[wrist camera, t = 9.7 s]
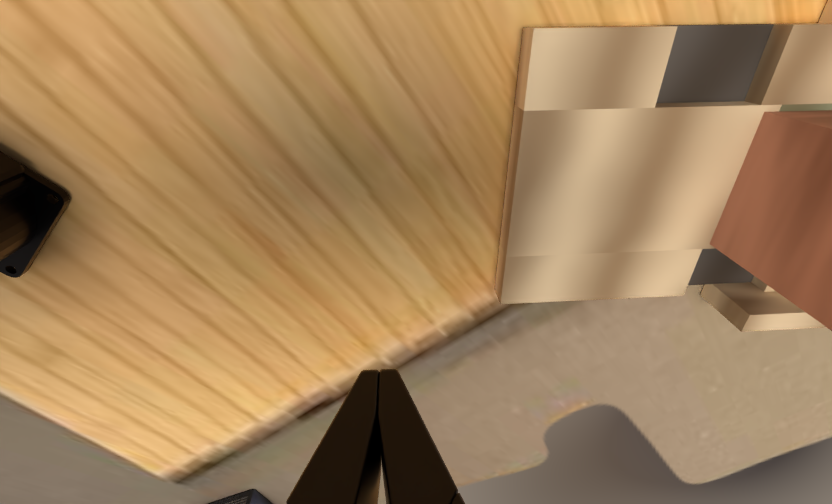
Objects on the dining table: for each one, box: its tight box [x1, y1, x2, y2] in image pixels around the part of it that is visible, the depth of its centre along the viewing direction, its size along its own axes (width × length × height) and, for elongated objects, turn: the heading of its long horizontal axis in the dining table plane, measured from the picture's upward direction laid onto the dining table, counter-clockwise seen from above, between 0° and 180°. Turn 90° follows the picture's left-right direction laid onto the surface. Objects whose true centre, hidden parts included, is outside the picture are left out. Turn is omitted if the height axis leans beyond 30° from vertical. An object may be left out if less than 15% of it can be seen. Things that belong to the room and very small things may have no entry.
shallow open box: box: [495, 0, 832, 332], centre depth 20 cm, size 25×16×4 cm, turn 91°
